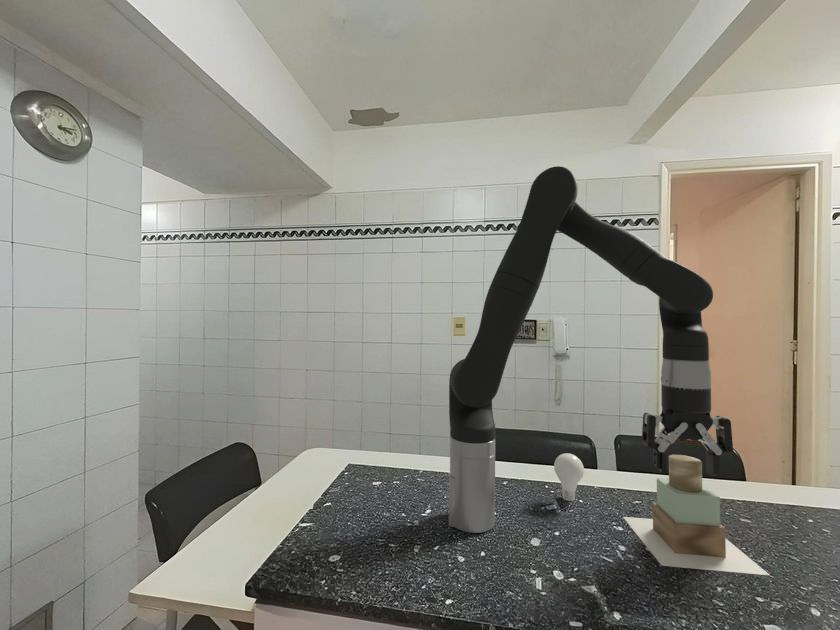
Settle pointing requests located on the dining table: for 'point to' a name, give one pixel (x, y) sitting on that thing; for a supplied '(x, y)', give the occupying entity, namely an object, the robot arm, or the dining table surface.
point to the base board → (667, 557)
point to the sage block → (688, 504)
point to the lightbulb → (568, 474)
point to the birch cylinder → (685, 473)
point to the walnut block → (689, 535)
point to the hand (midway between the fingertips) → (686, 472)
